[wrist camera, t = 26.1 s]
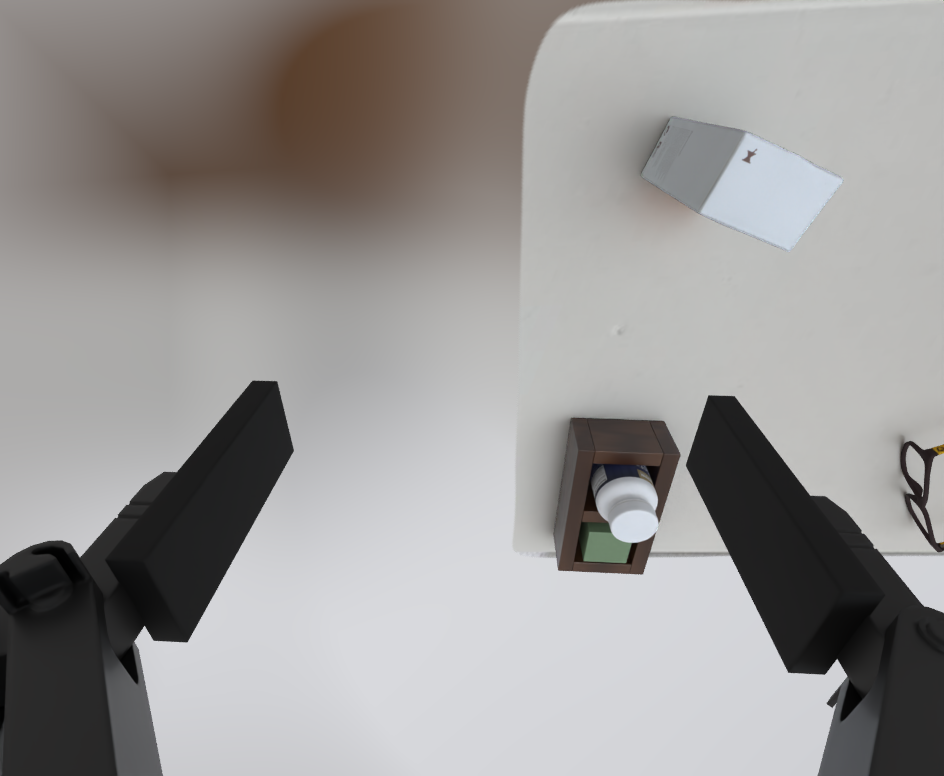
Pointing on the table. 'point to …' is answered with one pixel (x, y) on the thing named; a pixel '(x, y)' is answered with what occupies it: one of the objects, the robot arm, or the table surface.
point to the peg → (601, 544)
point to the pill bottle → (626, 500)
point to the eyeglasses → (917, 489)
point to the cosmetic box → (740, 180)
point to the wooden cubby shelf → (576, 497)
